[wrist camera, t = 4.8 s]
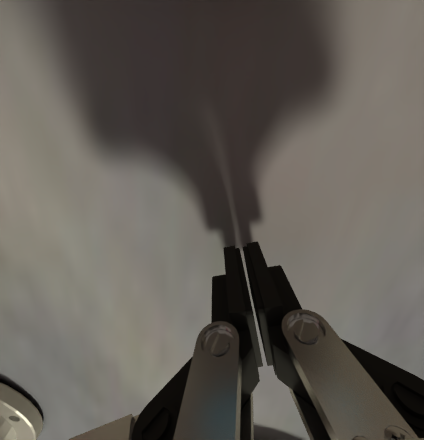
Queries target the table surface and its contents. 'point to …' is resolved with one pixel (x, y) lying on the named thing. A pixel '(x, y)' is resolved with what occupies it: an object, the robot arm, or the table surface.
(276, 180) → the table surface
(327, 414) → the robot arm
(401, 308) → the table surface
